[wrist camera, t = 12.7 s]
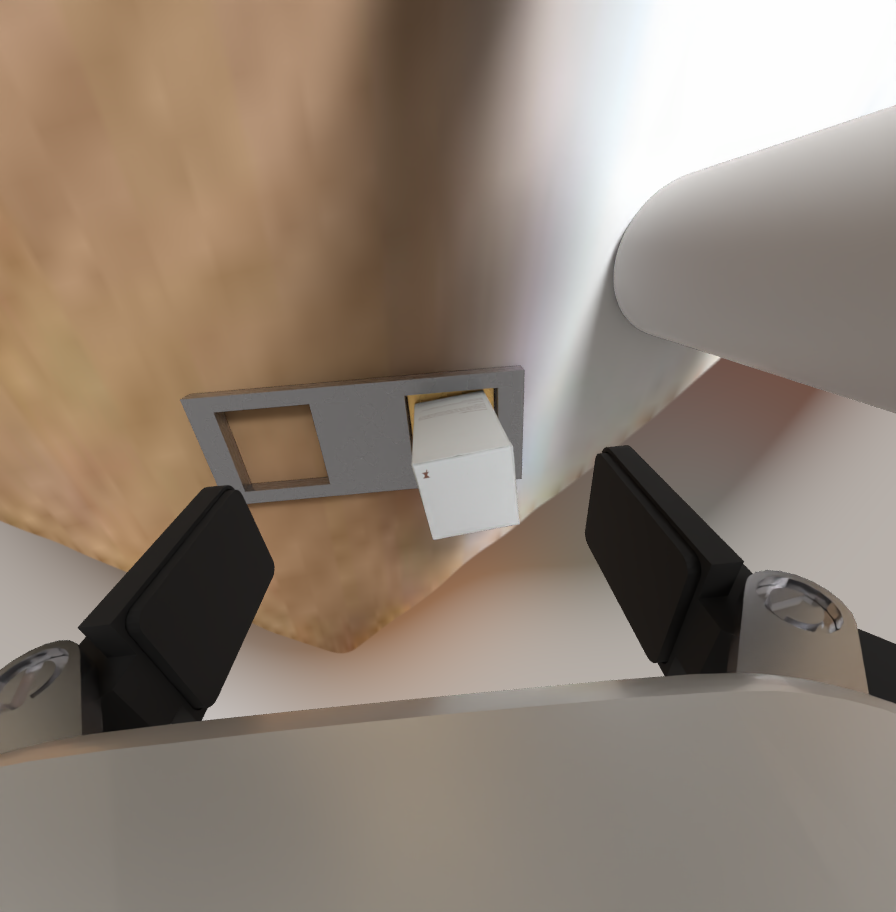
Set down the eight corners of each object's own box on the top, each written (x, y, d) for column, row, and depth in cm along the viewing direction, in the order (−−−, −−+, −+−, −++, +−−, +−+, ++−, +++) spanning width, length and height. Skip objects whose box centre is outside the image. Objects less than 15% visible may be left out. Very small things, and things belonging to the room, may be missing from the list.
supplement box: (427, 465, 40) (429, 543, 29) (413, 401, 37) (408, 462, 25) (494, 453, 40) (521, 527, 29) (486, 388, 36) (513, 444, 25)
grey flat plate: (189, 394, 35) (179, 399, 34) (520, 365, 36) (524, 369, 34) (233, 497, 41) (226, 505, 39) (518, 471, 41) (521, 478, 40)
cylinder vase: (690, 133, 28) (1672, -340, 6) (783, 236, 32) (1602, 178, 10) (580, 285, 33) (907, 334, 11) (673, 359, 36) (1057, 511, 14)
